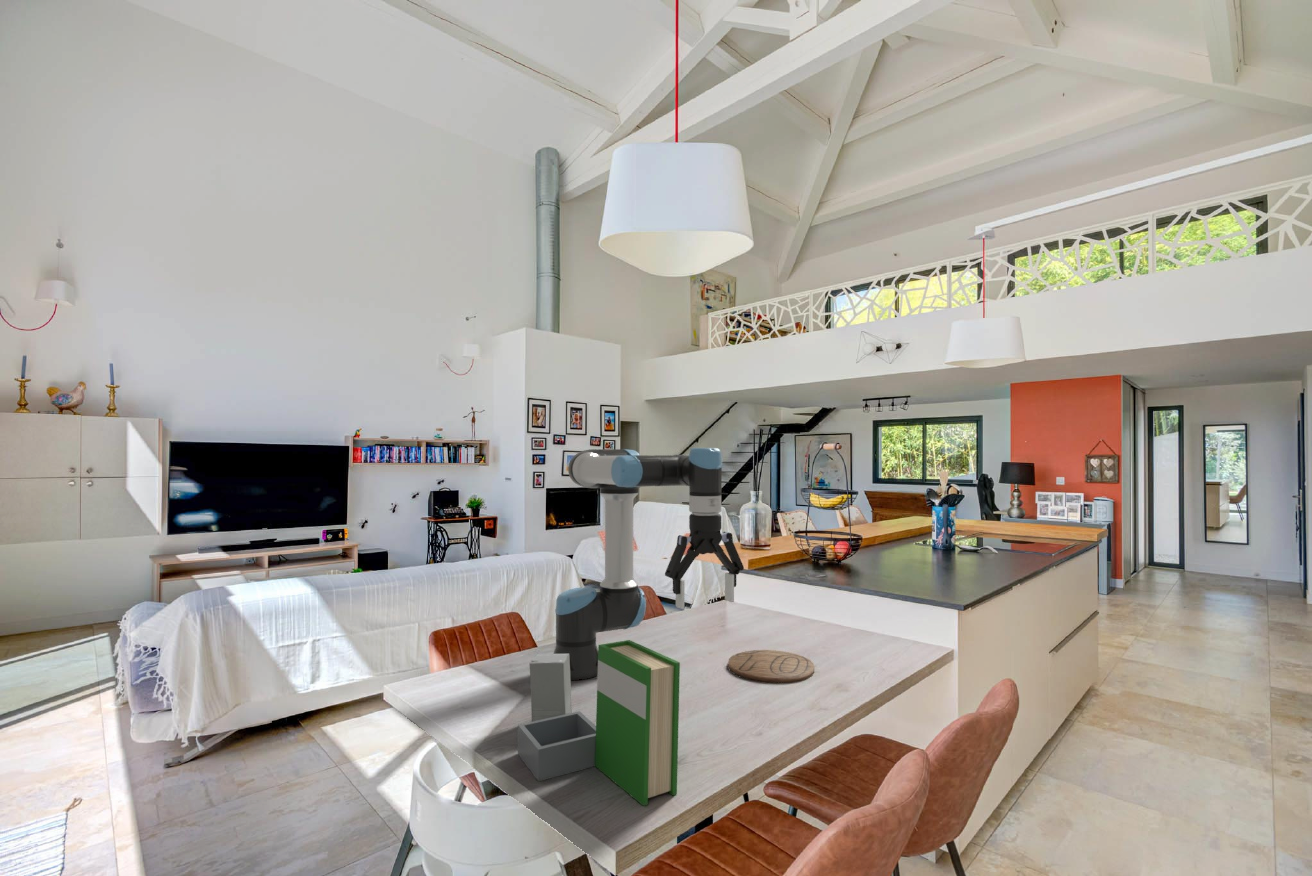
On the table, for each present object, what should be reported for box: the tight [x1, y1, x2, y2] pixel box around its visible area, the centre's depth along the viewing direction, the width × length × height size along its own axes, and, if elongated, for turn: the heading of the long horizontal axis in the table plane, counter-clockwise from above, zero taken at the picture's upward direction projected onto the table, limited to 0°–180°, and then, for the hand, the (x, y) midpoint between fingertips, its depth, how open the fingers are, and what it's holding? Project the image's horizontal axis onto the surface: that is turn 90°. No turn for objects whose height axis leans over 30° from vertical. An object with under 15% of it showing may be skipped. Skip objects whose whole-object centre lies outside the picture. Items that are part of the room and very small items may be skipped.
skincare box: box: [529, 653, 573, 722], centre depth 146 cm, size 8×7×16 cm
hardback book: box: [594, 639, 681, 806], centre depth 121 cm, size 18×7×24 cm, turn 35°
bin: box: [517, 711, 596, 782], centre depth 130 cm, size 13×14×6 cm
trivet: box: [727, 649, 815, 684], centre depth 185 cm, size 25×25×2 cm
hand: (705, 604), depth 146 cm, fingers open, 13 cm apart
